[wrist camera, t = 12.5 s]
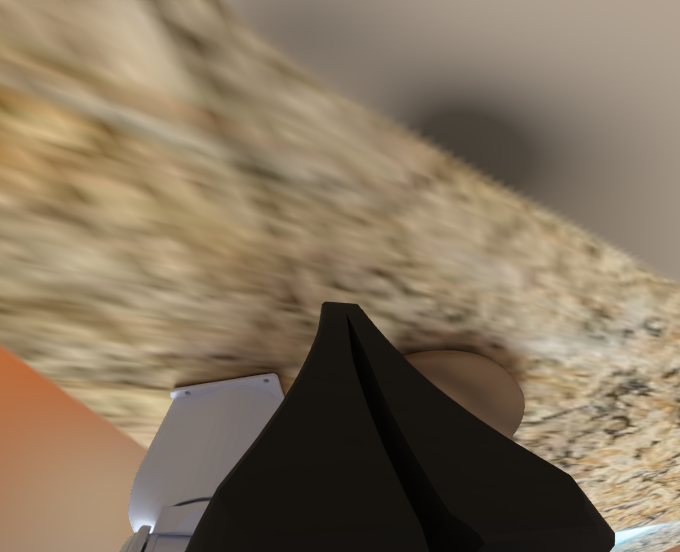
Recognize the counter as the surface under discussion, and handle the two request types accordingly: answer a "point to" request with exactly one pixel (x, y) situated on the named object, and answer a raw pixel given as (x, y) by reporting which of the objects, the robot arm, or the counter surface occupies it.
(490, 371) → the turntable top
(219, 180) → the counter surface
